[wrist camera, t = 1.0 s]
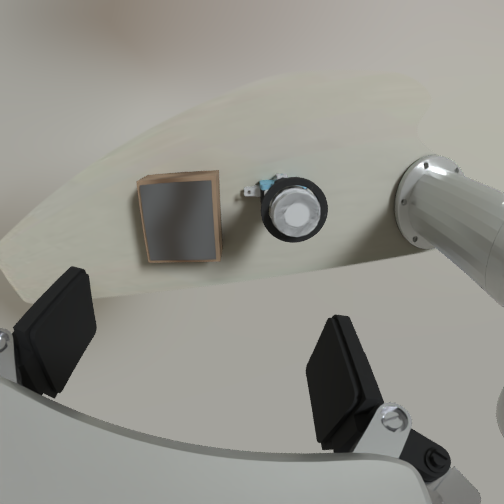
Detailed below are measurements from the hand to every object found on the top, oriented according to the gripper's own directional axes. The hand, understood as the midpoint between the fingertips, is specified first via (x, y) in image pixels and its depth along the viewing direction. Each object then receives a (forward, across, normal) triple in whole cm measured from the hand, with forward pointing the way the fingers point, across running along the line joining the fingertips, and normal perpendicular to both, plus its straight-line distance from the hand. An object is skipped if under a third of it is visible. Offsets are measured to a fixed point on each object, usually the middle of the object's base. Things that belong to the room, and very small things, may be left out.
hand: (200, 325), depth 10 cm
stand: (+22, +5, +3) cm, 23 cm away
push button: (+22, -4, -1) cm, 23 cm away
